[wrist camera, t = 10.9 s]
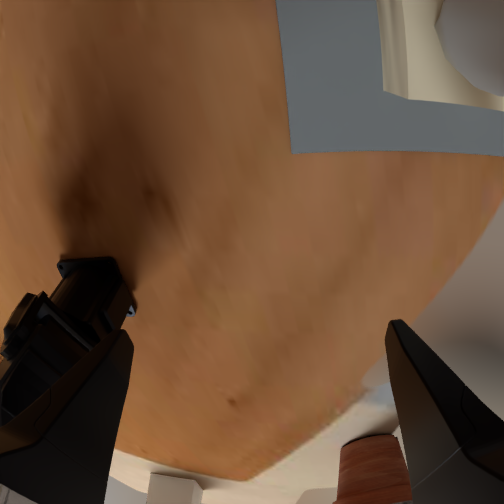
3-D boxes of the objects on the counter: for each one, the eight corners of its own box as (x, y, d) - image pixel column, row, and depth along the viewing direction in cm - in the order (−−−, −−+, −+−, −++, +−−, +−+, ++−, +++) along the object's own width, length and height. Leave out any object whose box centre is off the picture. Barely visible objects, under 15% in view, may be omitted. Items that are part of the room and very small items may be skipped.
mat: (291, 152, 20) (291, 153, 19) (267, -54, 12) (267, -56, 12) (513, 156, 18) (515, 157, 17) (512, -12, 10) (514, -12, 10)
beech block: (383, 90, 17) (408, 99, 13) (372, -28, 12) (394, -44, 9) (484, 101, 16) (518, 114, 12) (478, -5, 11) (513, -8, 8)
